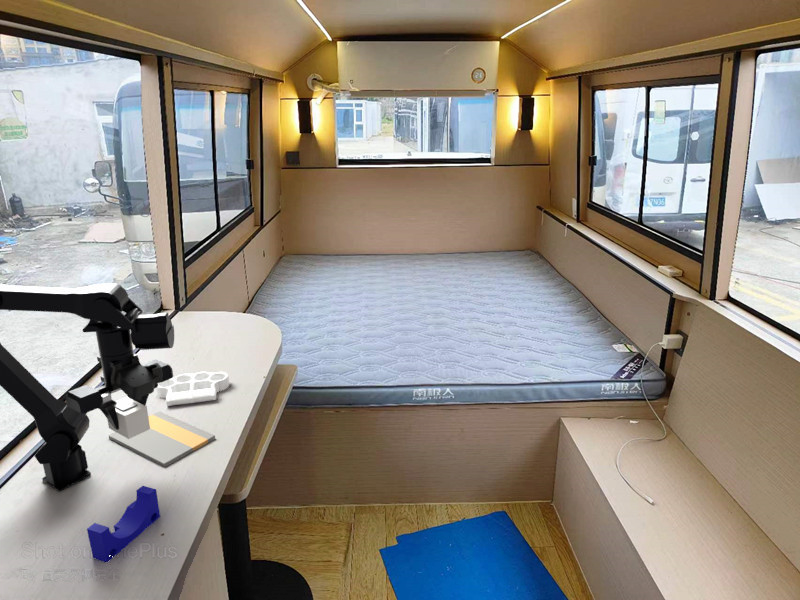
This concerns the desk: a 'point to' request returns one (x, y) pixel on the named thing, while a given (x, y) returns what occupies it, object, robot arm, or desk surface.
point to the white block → (131, 418)
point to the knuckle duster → (192, 387)
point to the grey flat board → (165, 439)
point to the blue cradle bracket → (125, 526)
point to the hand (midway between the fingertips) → (128, 423)
